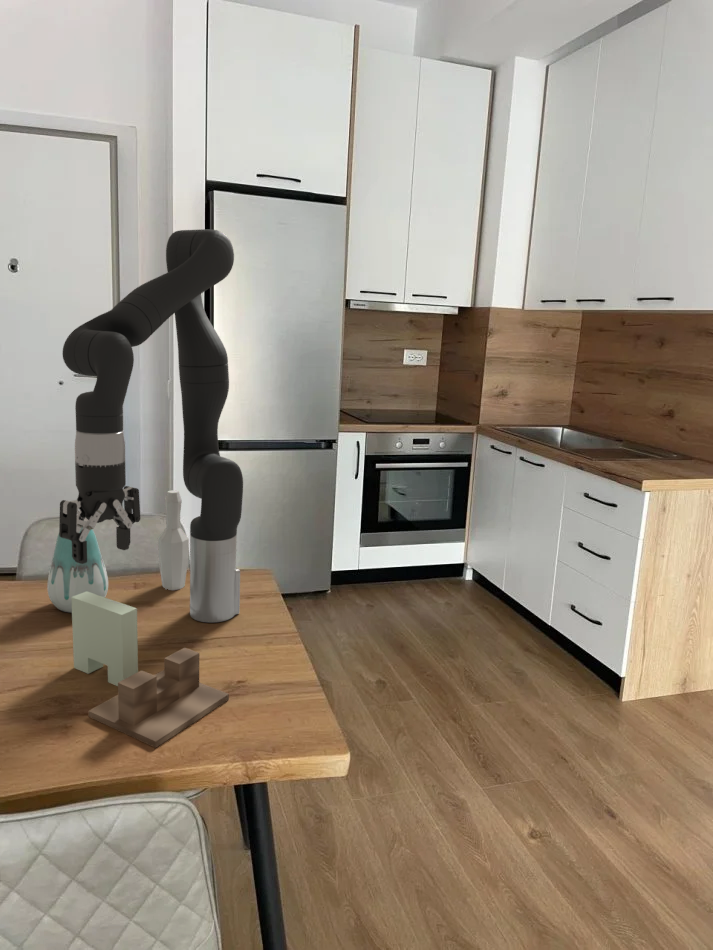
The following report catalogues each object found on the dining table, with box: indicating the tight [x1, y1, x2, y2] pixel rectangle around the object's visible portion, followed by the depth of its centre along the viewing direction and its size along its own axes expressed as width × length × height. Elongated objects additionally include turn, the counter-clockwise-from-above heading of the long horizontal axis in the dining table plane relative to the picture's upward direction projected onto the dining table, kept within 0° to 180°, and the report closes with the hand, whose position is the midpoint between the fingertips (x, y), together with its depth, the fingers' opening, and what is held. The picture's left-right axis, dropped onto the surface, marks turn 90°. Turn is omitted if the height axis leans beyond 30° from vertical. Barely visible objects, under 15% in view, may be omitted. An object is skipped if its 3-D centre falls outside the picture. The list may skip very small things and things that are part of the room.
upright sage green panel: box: [71, 592, 139, 687], centre depth 120 cm, size 3×12×13 cm, turn 60°
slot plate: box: [88, 647, 230, 749], centre depth 112 cm, size 16×14×7 cm
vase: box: [46, 527, 109, 614], centre depth 146 cm, size 12×12×18 cm
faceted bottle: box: [157, 489, 190, 591], centre depth 158 cm, size 6×6×22 cm
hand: (102, 555), depth 117 cm, fingers open, 8 cm apart
